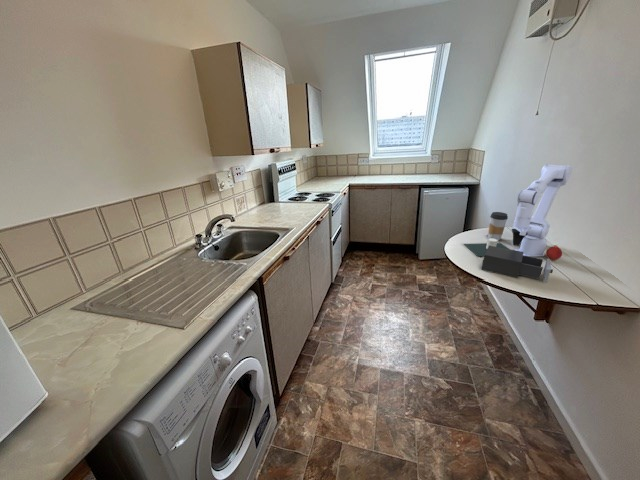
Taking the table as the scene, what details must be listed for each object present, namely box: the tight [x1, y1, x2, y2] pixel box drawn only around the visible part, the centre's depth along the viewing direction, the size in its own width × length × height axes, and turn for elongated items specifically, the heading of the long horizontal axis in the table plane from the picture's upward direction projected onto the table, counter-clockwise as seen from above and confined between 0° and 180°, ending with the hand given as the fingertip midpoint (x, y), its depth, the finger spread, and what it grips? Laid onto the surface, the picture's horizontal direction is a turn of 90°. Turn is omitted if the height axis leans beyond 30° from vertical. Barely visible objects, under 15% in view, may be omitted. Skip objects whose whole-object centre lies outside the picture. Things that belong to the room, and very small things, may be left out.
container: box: [486, 238, 499, 249], centre depth 141 cm, size 4×4×5 cm
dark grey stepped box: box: [481, 246, 523, 279], centre depth 121 cm, size 14×13×8 cm
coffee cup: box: [487, 211, 509, 241], centre depth 152 cm, size 8×8×15 cm
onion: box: [545, 244, 563, 262], centre depth 126 cm, size 6×6×8 cm
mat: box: [463, 242, 510, 258], centre depth 141 cm, size 20×16×1 cm
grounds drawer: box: [518, 255, 554, 283], centre depth 115 cm, size 14×11×6 cm
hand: (515, 244), depth 123 cm, fingers closed
